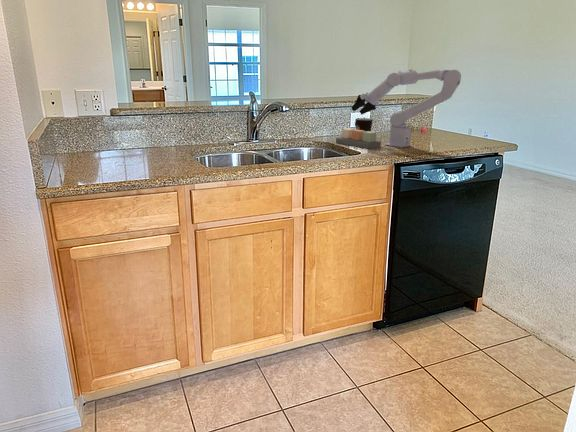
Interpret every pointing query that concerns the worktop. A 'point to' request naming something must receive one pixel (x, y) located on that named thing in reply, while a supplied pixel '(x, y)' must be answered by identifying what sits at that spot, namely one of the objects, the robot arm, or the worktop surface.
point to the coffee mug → (363, 124)
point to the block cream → (346, 133)
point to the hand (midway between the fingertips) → (356, 111)
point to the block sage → (369, 136)
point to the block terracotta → (357, 134)
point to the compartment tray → (358, 143)
